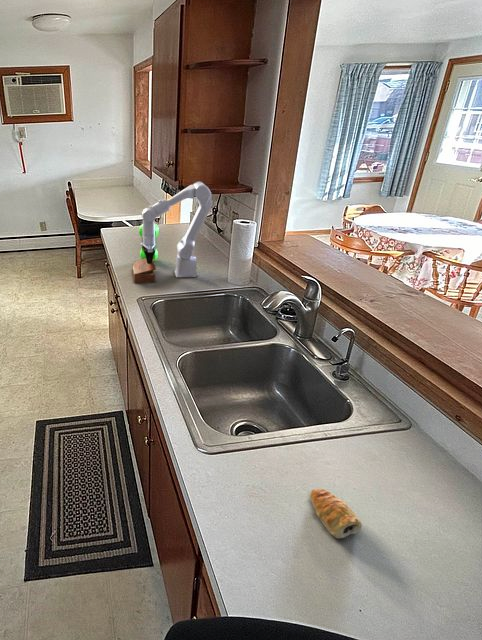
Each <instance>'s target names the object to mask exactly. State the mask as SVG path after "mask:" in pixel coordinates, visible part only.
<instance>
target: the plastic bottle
mask: <svg viewBox="0 0 482 640" xmlns="http://www.w3.org/2000/svg"><path fill="white" fill-rule="evenodd" d="M154 224H155V246H154V248H153V250H156V252H155V254H154V256H153V260H154V261H156V260H157V259H158V257H159V251H158V249H157V244H158V243H157V241H158V240H157V238H158V236H159V234H160V228H159V225H158V224H157V223H155V222H154ZM142 225H143V223H142V224H140V226H139V227H138V233H139V236H140V237H141V243H143V230H142ZM143 250H144V248H143V246H141V249H140V251H139V256H140V258H141V260H142V259H145V258H146V255H145V253H144V251H143Z"/></svg>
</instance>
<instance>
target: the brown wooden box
mask: <svg viewBox="0 0 482 640" xmlns="http://www.w3.org/2000/svg"><path fill="white" fill-rule="evenodd" d="M132 274H133V281H134V284H139V283H140V284H141V283H142V284H143V283H156V274H155V270H153V271H149V272H145V273H142V274H138V275H134V269H133V268H132Z"/></svg>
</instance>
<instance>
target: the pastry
mask: <svg viewBox="0 0 482 640" xmlns="http://www.w3.org/2000/svg"><path fill="white" fill-rule="evenodd" d="M309 499H310V501H311V503H312V506H313V508H314V510H315V513H316V516H317V517H318V518H319V520H320V522H321V523H322V525H323V526H324V527H325V528H326V530H327V532H328V533H329V534H330V535H331V536H333V538H335V539H339V540H340V539H343V538H346V537H348V536H349V535H355V534H357V533H359V532H360V531H361V529H362V522H361V519H359V518H358V516H357V515H356V513H355V511H353V510H352V509H351V508H350V507H349V506H348V504H347V503H346V502H344V501H343V500H341V499H340V498H338V496H335V495H334V494H333V493H331V492H330V491H327V490H326V489H323V488H319V489H312V490H311V491H310V495H309Z"/></svg>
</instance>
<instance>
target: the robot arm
mask: <svg viewBox="0 0 482 640" xmlns="http://www.w3.org/2000/svg"><path fill="white" fill-rule="evenodd" d="M195 198H196V200H197V203H198V207H197V209H196V212H195V214H194V215H193V218H192V219H191V222H190V224H189V226H188V228H187V230H186V233H185V235H184V236H183V237H182V238H181V240H180V241H179V242H178V243H176V246H175V247H176V248H175V249H176V251H177V254H176V259H175V270H174V271H173V272H174V275H175V277H176V278H178V279H179V278H197V265H198V263H197V257H196V256H193V252H194V248H195V241H196V240H197V238H198V235H199V233H200V232H201V230H202V227H203V225H204V223H205V221H206V219H207V217H208V216H209V213H210V211H211V209H212V206H213V205H212V192H211V190H210V188H209V186H207V185H206V184H205V183H203V182H202V181H195V182H194V183H192V184H190V185H188V186H187V187H185V188H184V189H182V190H180V191H179V192H177V193H176V194H174V195H173V196H171V197H170V198H168V199H164V198H163V199H159V200H158V201H157V202H155V204H153V205H149V207H145V208H143V210H142V212H141V217H142V224H143V225H142V224H141V225H142V230H143V243H142V242H140V247H142V246H143V248H144V250H143V251H144V253H145V255H146V260H147V264H152V261H153V256H154V254H155V252H156V250H153V248H154V246H155V224H156V223H155V220H156V218H159V217H161V216H162V215H164V214H165V213H167V212H169V211H171V207H172V206H175V205H176V204H178V203H180V202H182V201H184V200H186V199H193V200H194V199H195ZM154 223H155V224H154Z"/></svg>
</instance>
